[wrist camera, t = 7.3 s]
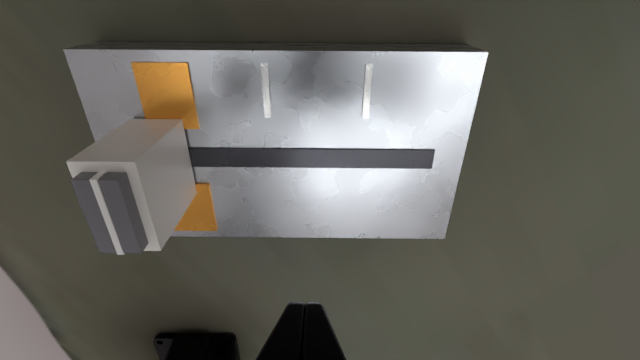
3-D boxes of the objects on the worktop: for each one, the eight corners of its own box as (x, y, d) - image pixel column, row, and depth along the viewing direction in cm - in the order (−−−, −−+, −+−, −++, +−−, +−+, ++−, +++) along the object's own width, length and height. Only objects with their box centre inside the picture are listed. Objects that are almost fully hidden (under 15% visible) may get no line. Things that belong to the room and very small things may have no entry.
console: (432, 213, 21) (445, 240, 19) (147, 211, 21) (126, 237, 19) (466, 43, 16) (489, 52, 14) (97, 41, 16) (61, 49, 14)
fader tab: (197, 192, 18) (154, 262, 13) (151, 192, 18) (92, 261, 13) (182, 119, 16) (125, 170, 11) (130, 118, 16) (52, 170, 11)
